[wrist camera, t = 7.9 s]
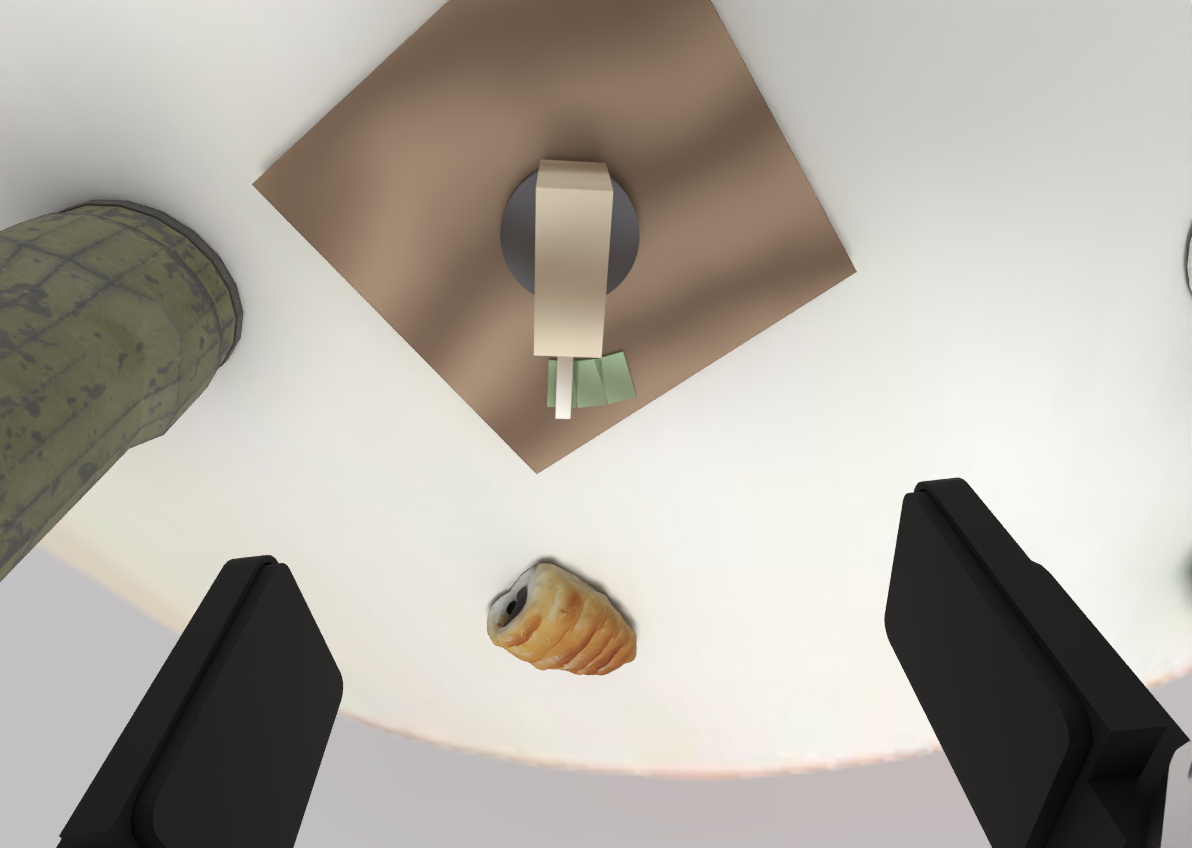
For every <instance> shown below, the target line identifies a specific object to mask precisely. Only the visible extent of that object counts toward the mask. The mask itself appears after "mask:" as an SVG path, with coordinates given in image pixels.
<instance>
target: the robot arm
mask: <svg viewBox="0 0 1192 848" xmlns="http://www.w3.org/2000/svg"><path fill="white" fill-rule="evenodd" d="M1187 268H1188V276H1189V285H1190V289H1191V291H1192V238H1191V241H1190V247H1189V256H1188V264H1187ZM884 621H885V629H886V633H887V636H888V639H889V642H890V644H891V646H892V648H893V650H894V652H895V654H896V656H897V658H898V660H899V662H900V664H901V666H902V668H903V670H904V672H905V674H906V676H907V678H908V680H909V682H910V684H911V686H912V688H913V690H914V692H915V694H916V696H917V698H918V700H919V702H920V704H921V706H922V708H923V710H924V712H925V714H926V716H927V718H928V720H929V722H930V724H931V726H932V728H933V730H934V732H935V734H936V736H937V738H938V740H939V742H940V744H941V746H942V748H943V750H944V752H945V754H946V756H947V758H948V760H949V762H950V764H951V766H952V768H953V770H954V772H955V774H956V776H957V778H958V780H959V782H960V784H961V786H962V788H963V790H964V792H965V794H966V796H967V798H968V800H969V802H970V804H971V806H972V808H973V810H974V812H975V814H976V816H977V818H978V820H979V822H980V824H981V826H982V828H983V830H984V832H985V834H986V836H987V838H988V840H989V842H990V844H991V846H992V848H1192V741H1191V740H1190V739H1189V738H1188V737H1187V736H1186V735H1185V733H1184V732H1183V731H1182V730H1181V729H1180V727H1179V726H1178V725H1177V724H1176V723H1175V721H1174V720H1173V719H1172V718H1171V717H1170V715H1169V714H1168V713H1167V712H1166V711H1165V709H1164V708H1163V707H1162V706H1161V705H1160V704H1159V702H1158V701H1157V700H1156V699H1155V698H1154V696H1153V695H1152V694H1151V693H1150V692H1149V690H1148V689H1147V688H1146V687H1145V686H1144V684H1143V683H1142V682H1141V681H1140V680H1139V678H1138V677H1137V676H1136V675H1135V674H1134V672H1133V671H1132V670H1131V669H1130V668H1129V666H1128V665H1127V664H1126V663H1125V662H1124V661H1123V659H1122V658H1121V657H1120V656H1119V655H1118V653H1117V652H1116V651H1115V650H1114V649H1113V647H1112V646H1111V645H1110V644H1109V643H1108V641H1107V640H1106V639H1105V638H1104V637H1103V635H1102V634H1101V633H1100V632H1099V631H1098V630H1097V628H1096V627H1095V626H1094V625H1093V624H1092V622H1091V621H1090V620H1089V619H1088V618H1087V616H1086V615H1085V614H1084V613H1083V612H1082V610H1081V609H1080V608H1079V607H1078V606H1077V604H1076V603H1075V602H1074V601H1073V600H1072V599H1071V597H1070V596H1069V595H1068V594H1067V593H1066V591H1065V590H1064V589H1063V588H1062V587H1061V585H1060V584H1059V583H1058V582H1057V581H1056V579H1055V578H1054V577H1053V576H1052V575H1051V574H1050V573H1049V572H1048V571H1047V570H1046V569H1045V568H1044V567H1043V566H1042V565H1040V564H1038V563H1036V562H1034V561H1031V560H1030V558H1029V557H1028V556H1027V555H1026V554H1025V552H1024V551H1023V550H1022V549H1021V547H1020V546H1019V545H1018V544H1017V543H1016V541H1015V540H1014V539H1013V538H1012V537H1011V535H1010V534H1009V533H1008V532H1007V530H1006V529H1005V528H1004V527H1003V526H1002V524H1001V523H1000V522H999V521H998V520H997V518H996V517H995V516H994V515H993V513H992V512H991V511H990V510H989V509H988V507H987V506H986V505H985V504H984V503H983V501H982V500H981V499H980V498H979V496H978V495H977V494H976V493H975V492H974V490H973V489H972V488H971V487H970V486H969V484H968V483H967V482H966V481H965V480H963V479H961V478H950V479H941V480H932V481H923V482H919V483H918V484H917V485H916V487H915V490H914V492H913V493H907V494H906V495H905V496H904V499H903V504H902V510H901V517H900V523H899V529H898V535H897V542H896V548H895V554H894V560H893V567H892V573H891V579H890V586H889V592H888V598H887V604H886V611H885V619H884ZM342 694H343V680H342V676H341V673H340V671H339V669H338V667H337V665H336V663H335V661H334V659H333V657H332V655H331V653H330V650H329V648H328V646H327V644H326V642H325V640H324V638H323V636H322V634H321V632H320V630H319V628H318V626H317V624H316V622H315V620H314V618H313V616H312V614H311V612H310V610H309V608H308V606H307V603H306V601H305V599H304V597H303V595H302V593H301V591H300V589H299V587H298V585H297V583H296V581H295V579H294V577H293V575H292V573H291V571H290V569H289V567H288V566H287V565H286V564H284V563H278V562H277V560H276V559H275V558H274V557H273V556H271V555H263V556H255V557H246V558H237V559H231V560H229V561H228V562H227V563H226V564H225V565H224V566H223V568H222V569H221V571H220V573H219V574H218V576H217V578H216V579H215V581H214V583H213V584H212V586H211V587H210V589H209V591H208V592H207V594H206V596H205V597H204V599H203V601H202V602H201V604H200V606H199V607H198V609H197V610H196V612H195V614H194V615H193V617H192V619H191V620H190V622H189V624H188V625H187V627H186V629H185V630H184V632H183V633H182V635H181V637H180V638H179V640H178V642H177V644H176V645H175V647H174V648H173V650H172V651H171V653H170V655H169V656H168V658H167V660H166V661H165V663H164V665H163V666H162V668H161V670H160V671H159V673H158V674H157V676H156V678H155V680H154V681H153V683H152V684H151V686H150V688H149V689H148V691H147V693H146V694H145V696H144V698H143V699H142V701H141V702H140V704H139V706H138V707H137V709H136V711H135V712H134V714H133V716H132V717H131V719H130V721H129V722H128V724H127V725H126V727H125V729H124V730H123V732H122V734H121V735H120V737H119V738H118V740H117V742H116V743H115V745H114V747H113V749H112V750H111V752H110V753H109V755H108V757H107V758H106V760H105V762H104V763H103V765H102V766H101V768H100V770H99V772H98V773H97V775H96V776H95V778H94V780H93V781H92V783H91V784H90V786H89V788H88V790H87V791H86V793H85V794H84V796H83V798H82V799H81V801H80V802H79V804H78V806H77V807H76V809H75V811H74V813H73V814H72V816H71V817H70V819H69V821H68V822H67V824H66V826H65V827H64V829H63V830H62V832H61V834H60V835H59V836H60V837H61V838H62V839H61V841H60V843H59V844H58V846H57V847H56V848H293V847H294V844H295V841H296V837H297V834H298V831H299V828H300V825H301V822H302V819H303V816H304V813H305V810H306V807H307V804H308V801H309V798H310V795H311V791H312V788H313V785H314V782H315V779H316V776H317V773H318V770H319V767H320V764H321V761H322V758H323V755H324V751H325V748H326V745H327V742H328V739H329V736H330V733H331V730H332V727H333V724H334V721H335V718H336V715H337V711H338V708H339V705H340V702H341V699H342Z"/></svg>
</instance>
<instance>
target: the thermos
mask: <svg viewBox="0 0 1192 848" xmlns="http://www.w3.org/2000/svg"><path fill="white" fill-rule="evenodd" d="M242 318H243V310H242V306H241V302H240V298H239V294H238V290H237V286H236V284H235V282H234V280H233V279H232V277H231V275H230V274H229V272H228V270H227V269H226V267H225V265H224V264H223V262H222V260H221V259H220V257H219V256H218V255H217V254H216V253H215V252H214V251H213V250H212V249H211V248H210V247H209V246H208V245H207V244H206V243H205V242H204V241H203V240H202V239H201V238H200V237H199V236H198V235H197V234H196V233H195V232H194V231H193V230H191V229H189V228H188V227H186V226H185V225H183V224H181V223H180V222H178V221H176V220H175V219H173V218H172V217H170V216H168V215H167V214H165V213H163V212H161V211H158V210H155V209H152V208H149V207H145V206H142V205H139V204H136V203H133V202H130V201H117V200H92V201H89V202H86V203H83V204H80V205H77V206H74V207H70V208H67V209H65V210H62V211H60V212H58V213H50V214H47V215H43V216H40V217H37V218H34V219H31V220H28V221H25V222H22V223H19V224H17V225H14V226H12V227H9V228H7V229H5V230H2V231H0V582H1V581H2V580H3V579H4V578H5V577H6V575H7V574H8V573H9V572H10V571H11V570H12V569H13V568H14V567H15V566H16V565H17V564H18V563H19V562H20V561H21V560H22V559H23V558H24V557H25V556H26V555H27V554H28V553H29V552H30V551H31V550H32V549H33V548H34V546H35V545H36V544H37V543H38V542H39V541H40V540H41V539H42V538H43V537H44V536H45V535H46V534H47V533H48V532H49V531H50V530H51V529H52V528H53V527H54V526H55V525H56V524H57V523H58V522H59V521H60V520H61V519H62V518H63V517H64V516H65V514H66V513H67V512H68V511H69V510H70V509H71V508H72V507H73V506H74V505H75V504H76V503H77V502H78V501H79V500H80V499H81V498H82V497H83V496H84V495H85V494H86V493H87V492H88V491H89V490H90V489H91V488H92V487H93V486H94V485H95V483H96V482H97V481H98V480H99V479H100V478H101V477H102V476H103V475H104V474H105V473H106V472H107V471H108V470H109V469H110V468H111V467H112V466H113V465H114V464H115V463H116V462H117V461H118V460H119V459H120V458H121V457H122V456H123V455H124V453H125V452H126V451H127V450H128V449H129V448H132V447H134V446H137V445H139V444H142V443H144V442H147V441H149V440H152V439H154V438H157V437H159V436H162V435H164V434H165V433H166V432H167V431H168V430H169V428H170V427H171V426H172V425H173V424H174V423H175V422H176V421H177V420H178V419H179V418H180V416H181V415H182V414H183V413H184V412H185V411H186V410H187V409H188V408H189V407H190V406H191V405H192V403H193V402H194V401H195V400H196V399H197V398H198V397H199V396H200V395H201V394H202V393H203V391H204V390H205V389H206V388H207V387H208V385H209V384H210V382H211V380H212V378H213V376H214V375H215V373H216V371H217V369H218V368H219V367H221V366H222V365H223V364H224V363H225V362H226V361H227V360H228V359H229V357H230V355H231V354H232V352H233V350H234V348H235V347H236V345H237V343H238V341H239V340H240V337H241V328H242Z"/></svg>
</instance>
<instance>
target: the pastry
mask: <svg viewBox="0 0 1192 848" xmlns="http://www.w3.org/2000/svg"><path fill="white" fill-rule="evenodd" d="M487 632H488V635H489V636H490V639H491V640H492V642H493V644H494V645H496V646H500V647H503V648H504V649H506V650H507V651H508V652H509V653H511V654H513V655H514V656H515V657H517V658H519V659H521V660H523V661H527V662H529V663H531V664H532V665H533V666H534V667H535V668H537V669H540V670H546V669H559V670H566V671H570V672H572V673H574V674H577V675H582V674H585V675H605V674H608V673H610V672H612V671H614V670H616V669H617V668H619V667H621V666H622V665H623V664H625V663H628V662H631V661H633V660H634V659H635V657H636V634H635V632H634V631H633V630H632V629H631V628H630V626H629V625H628V624H627V622H626V621H624V620H623V618H622V615H621V614H620V613H619V612H618V611H617V610H616V609H615V608H614V607H613V606H612V604H611V603H610V601H609V600H608V597H607V596H606V595H605V594H604V593H602V592H597V591H596V590H595V589H594V588H593V587H592V586H590V585H588V584H587V583H585V582H584V581H582V580H581V579H580V578H579V577H578V576H576V575H574V574H572V573H571V572H569V571H567V570H565V569H564V568H562V567H559V566H556V565H554V564H551V563H539V564H538V565H537V566H535V567H531V568H529V569H528V570H527V571H526V572H524V573H523V574H522V575H521V576H520V578H519V579H518V581H517V582H516V583H515V584H514V586H513V587H512V589H511V591H510V592H509V593H507V594H505V595H503V596H502V597H500V598H499V599H498V600H497V601H496V602H495V603H494V604H493V605H492V607H491V608H490V611H489V614H488V619H487Z"/></svg>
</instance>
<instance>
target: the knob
mask: <svg viewBox="0 0 1192 848" xmlns="http://www.w3.org/2000/svg"><path fill="white" fill-rule="evenodd" d="M639 235H640V234H639V224H638V220H637V216H636V213H635V210H634V207H633V205H632V202H631V200H630V198H629V196H628V194H627V193H626V191H625V190H624V189H623V187H622V186H621V185H620V184H619V183H618V182H617V181H616V180H615V179H614V178H613V177H612V176H610V175H609V172H608V168H607V164H606V163H597V162H579V161H561V160H543V159H540V164H539V169H537V170H535V171H534V172H532V173H531V174H529V175H528V176H527V177H525V178H524V179H523V180H522V181H521V182H520V183H519V184H518V186H517V187H516V188H515V189H514V191H513V192H512V194H511V196H510V198H509V200H508V202H507V204H506V207H505V210H504V214H503V217H502V222H501V228H500V242H501V249H502V253H503V256H504V259H505V262H506V264H507V266H508V268H509V270H510V272H511V273H512V275H513V276H514V278H515V279H516V280H517V281H518V282H519V283H520V284H521V285H522V286H523V287H524V288H525V289H526V290H527V291H529V292H530V293H532V294H533V295H535V302H534V355H536V356H557V385H556V416H555V419H570V416H571V395H572V374H573V357H591V358H602V344H603V330H604V316H605V302H606V295H607V294H609V293H610V292H612V291H613V290H614V289H616V288H617V287H618V286H619V285H620V284H621V283H622V282H623V280H624V279H625V278H626V277H627V275H628V274H629V272H630V270H631V269H632V267H633V264H634V262H635V260H636V256H637V253H638V248H639Z"/></svg>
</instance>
